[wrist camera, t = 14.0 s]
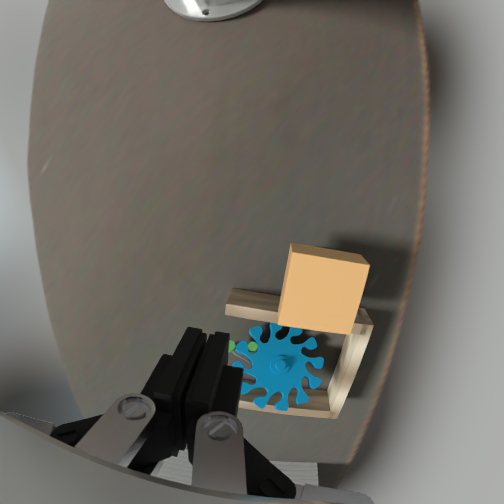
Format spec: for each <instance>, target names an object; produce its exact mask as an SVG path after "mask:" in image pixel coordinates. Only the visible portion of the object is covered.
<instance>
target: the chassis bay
mask: <svg viewBox="0 0 504 504" xmlns="http://www.w3.org/2000/svg"><path fill="white" fill-rule="evenodd" d="M280 298H281V296H276V295H270V294H264V293H258V292H252V291H246V290H240V289H235V288H232V291H231V294H230V296H229V299H228V301H227V304H226V311H225V315H230V316H236V317H241V318H247V319H253V320H259V321H265V322H271V323H277V324H278V308H279V303H280ZM373 326H374V325H373V323H372V321H371V319H370V318H369V316H368V314H367V312H366V310H365V309H364V308H358V311H357V314H356V317H355V321H354V324H353V327H352V330H351V333H350V335H348V334H346V338H345V341H344V344H343V347H342V350H341V353H340V356H339V359H338V362H337V364H336V367H335V370H334V373H333V376H332V378H331V381H330V384H329V387H328V389H327V391H326V390H315V389H306V388H302V389H303V391H304V392H305V394H306V395H307V396H308V397H309V401H307V402H305V403H303V404H296V403H295V397H296V395H297V390H296V389H295V388H292V389H291V390H290V392H289V394H288V398H287V402H288V406H289V407H288V410H287V411H279V410H276V409H275V408H274V406H275V404H276V402H278V401H279V400H281V398H282V394H281V393H280V392H276V393H274V394H273V395H272V396H271V397H270V398H269V399H268V401H267V405H266V406H265V407H264V408H263V409H260V408H259V407H257V406H256V405H255V404H254V403H253V400H254V399H255V398H256V397H263V396H265V395H266V394H267V390H266V389H265V388H263V387H259V388H254V389H252V390H250V391H249V392H248V393H247V394H240V401H239V406H238V407H239V408H245V409H251V410H258V411H265V412H272V413H280V414H288V415H297V416H308V417H320V418H334V419H337V417H338V415H339V413H340V411H341V408H342V406H343V404H344V402H345V399H346V397H347V395H348V392H349V390H350V387H351V385H352V383H353V380H354V378H355V375H356V373H357V370H358V368H359V365H360V362H361V360H362V357H363V354H364V352H365V349H366V346H367V344H368V341H369V338H370V335H371V332H372V329H373ZM242 382H246V383H248V384H250V385H254V384H255V382H254V381H248V380H242Z"/></svg>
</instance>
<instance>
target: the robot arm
mask: <svg viewBox="0 0 504 504" xmlns="http://www.w3.org/2000/svg"><path fill="white" fill-rule="evenodd" d="M164 1H165V2H166V4H167V5H168V7H169V8H170V9H171V10H172V11H173V12H175V13H176V14H178V15H179V16H181V17H184V18H187V19H190V20H195V21H208V22H210V21H220V20H225V19H229V18H233V17H235V16H238V15H241V14H243V13H245V12H247V11H249V10H251V9H253V8H254V7H255V6H257V5H258V4H260V3H261V2H262V1H263V0H164ZM207 14H208V15H207ZM206 340H207V334H206V333H202V329H198V328H192V327H188V328H187V329H186V331H185V333H184V335H183V337H182V339H181V341H180V342H179V344H178V346H177V348H176V350H175V352H174V354H173V356H171V355H167V354H164V355H162V357H161V358H160V360H159V362H158V364H157V365H156V367H155V369H154V371H153V372H152V374H151V376H150V378H149V379H148V381H147V383H146V385H145V387H144V388H143V390H142V392H141V394H133V393H132V394H126V395H124V396H121V397H120V398H118V399H117V400H116V401H115V402H114V403H113V404H112V406H111V407H110V408H109V409H108V410H107V411H106V412H105V413H104V414H103V415H99V416H95V417H91V418H87V419H83V420H80V421H75V422H71V423H67V424H63V425H60V426H58V427H55V425H54V423H49V422H45V421H41V420H38V419H34V418H30V417H27V416H23V415H20V414H17V413H6V414H5V413H2V412H0V504H374V502H373V501H372V499H371V498H370V497H369V496H367V495H366V494H362V493H359V492H352V491H345V490H338V489H332V488H326V487H321V486H316V485H311V484H306V483H305V485H304V486H303V485H299V484H294V483H293V482H292V480H291V479H290V478H289V477H287V476H286V475H285V474H284V473H283V472H281V471H280V470H279V469H278V468H277V467H276V466H274V465H273V464H272V463H271V462H270V461H269V460H268V459H266V458H265V457H264V456H263V455H262V454H261V453H260V452H259V451H257V450H256V449H255V448H254V447H253V446H252V445H251V444H250V443H249V442H248V441H247V440H246V439H245V438H244V437H243V427H242V423H241V422H240V421H239V419H238V418H236V417H237V412H238V406H239V401H240V394H241V388H242V380H243V371H244V368H241V367H234V366H227V364H228V352H229V340H230V333H223V332H217V331H216V332H215V335H213V334H210V335H209V338H208V340H207V343H206ZM186 444H187V448H188V459H189V462H190V463H191V464H192V466H193V469H192V482H191V485H187V484H182V483H178V482H174V481H170V480H166V479H162V478H158V477H156V476H157V474H158V472H159V471H160V469H161V467H162V466H163V463H164V459H167V458H170V457H171V456H174V457H177V456H178V453H179V450H182V451H184V450H185V447H186Z"/></svg>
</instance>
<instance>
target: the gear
mask: <svg viewBox="0 0 504 504" xmlns="http://www.w3.org/2000/svg"><path fill="white" fill-rule="evenodd" d="M269 328H270V338H269V340H268V342H267V343H262V342H261V341H260V336H261V334H262V328H261V326H257V327H253V328H251V329H250V330H249V334H250V336H251V337H252V338H253V339H254V341H255V342H250V343H249V344H247V342H246V341H244V340H242V341H237V342H235V343H234V342H233V341H231V340H230V341H229V352H233V354H234V355H236V356H238V357H239V358H241V359H243V360H245V361H247V362H249V363H251V364H252V367H251V369H246V368H245V367H244V366H243V365H242V363H241V362H239V361H234V363H233V365H232V366H234V367H241V368H244V371H243V373H246V374H249V375H251V376H253V377H254V378H255V379H256V382H255V384H254V385H250V384H248V383H246V382H242V388H241V394H247V393H248V392H249V391H250V390H252V389H254V388H259V387H263V388H265V389H266V390H267V394H266V395H265V396H263V397H256V398H255V399H254V400H253V403H254V404H255V405H256V406H257V407H259V408H260V409H263V408H264V407H265V406H266V405H267V401H268V399H269V398H270V397H271V396H272V395H273V394H274V393H276V392H280V393H281V394H282V398H281V400H279V401H278V402H276V404H275V406H274V408H275V409H276V410H279V411H287V410H288V407H289V406H288V402H287V398H288V394H289V392H290V390H291V389H292V388H295V389H296V390H297V395H296V397H295V403H296V404H303V403H305V402H307V401H309V397H308V396H307V395H306V394H305V392H304V391H303V389H302V385H301V379H302V378H303V377H306V378H307V379H308V386H309V387H310V388H311V389H316V388H317V387H318V386H319V385H320V384H321V382H322V381H321V379H320V378H318V377H315V376H313V375H311V374H310V373H309V372H308V371H307V369H306V368H305V364H306V362H309V363H310V364H311V365H312V367H313V368H315V369H320V368H322V367H323V362H324V358H322V357H316V358H309V357H307V356H305V355H303V354H302V353H301V349H302V348H306V349H308V350H313V349H315V348H316V347H317V343H316V340H315V338H313V337H311V338H309V339H308V340H306V341H305V342H304V343H302V344H292V343H291V341H290V338H291V337H297V336H299V335H300V334H301V333H302V331H303V330H302V329H301V328H295V327H291V328H290V330H289V333H288V335H287V336H286V337H285V338H284V339H282V340H278V339H277V338H276V337H275V334H276V333H277V332H278V331H279V330H280V329H281V328H282V325H278V324H277V323H270V325H269Z"/></svg>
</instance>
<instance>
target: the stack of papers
mask: <svg viewBox="0 0 504 504" xmlns="http://www.w3.org/2000/svg"><path fill="white" fill-rule="evenodd" d="M270 462H271V463H272V464H273V465H274V466H276V467H277V468H278V469H279V470H280V471H281V472H283V473H284V474H285V475H286V476H287V477H289V478H290V479H291V480H292V482H293V483H294V484H299V485H303V486H304V485H305V483H306V484H311V485H316V486H319V485H318V484H319V483H318V476H317V475H318V471H317V470H318V468H317V463H308V462H282V461H270ZM192 469H193V466H192V464H191V463H190V462H189V459H188V449H185V450H184V451H182V450H179V453H178V456H177V457H174V456H171V457H170V458H167V459H164V463H163V466H162V467H161V469H160V471H159V472H158V474H157V476H156V477H158V478H162V479H166V480H170V481H174V482H178V483H182V484H187V485H191V482H192Z"/></svg>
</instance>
